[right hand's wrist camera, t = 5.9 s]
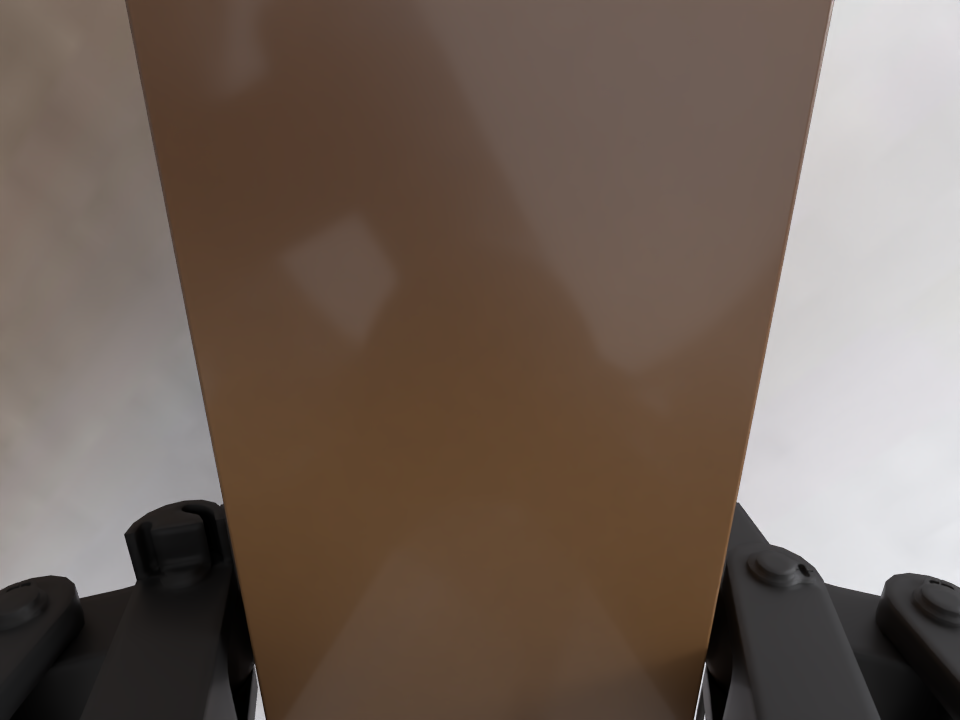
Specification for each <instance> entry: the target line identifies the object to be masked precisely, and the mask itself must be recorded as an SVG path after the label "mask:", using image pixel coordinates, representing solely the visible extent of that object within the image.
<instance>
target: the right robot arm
mask: <svg viewBox="0 0 960 720" xmlns="http://www.w3.org/2000/svg"><path fill="white" fill-rule="evenodd" d="M124 536H125V539H126V543H127V546H128V550H129V554H130V557H131V561H132V564H133V568H134V572H135V575H136V579H137V582H136V584H135V585H134V586H131V587H127V588H124V589H120V590H115V591H111V592H106V593H102V594H97V595H93V596H88V597H84V598H79V596H78V593H77V590H76V587H75V584H74V583H73V582H71V581H70V580H69V579H68V578H66V577H60V576H52V575H50V576H43V577H37V578H31V579H28V580H24V581H21V582H18V583H15V584H12V585H10V586H8V587H6V588H4V589H2V590H0V720H254V719H255V709H256V700H257V690H258V686H257V679H256V673H255V668H254V664H255V661H254V656H253V651H252V646H251V641H250V635H249V630H248V625H247V620H246V615H245V610H244V605H243V600H242V595H241V589H240V584H239V579H238V574H237V569H236V564H235V559H234V554H233V549H232V543H231V538H230V533H229V528H228V523H227V518H226V513H225V508H224V504H223V505H221V506H219V505H217V504H216V503H214V502H210V501H205V500H187V501H181V502H177V503H173V504H169V505H165V506H163V507H161V508H158V509H156V510H154V511H152V512H149V513H147V514H146V515H145V516H143V517H142V518H140V519H139V520H137V521H136V522H134V523H133V524H132V526H131V527H130V528H129V529H128V530H127V532H126V533H125V534H124ZM705 662H706V668H705V673H704V678H703V683H702V688H701V693H700V698H699V704H698V709H697V715H696V720H704V715H705V718H706V720H960V588H959V587H957V586H956V585H954V584H952V583H949V582H947V581H944V580H940V579H938V578H934V577H931V576H927V575H920V574H913V573H905V574H897V575H893V576H892V577H891V578H890V579H888V580H887V581H886V582H885V585H884V588H883V592H882V595H881V596H878V595H873V594H869V593H864V592H859V591H855V590H850V589H846V588H841V587H837V586H834V585H830V584H827V583H824V581H823V579H822V578H821V576H820V575H819V573H818V572H817V570H816V569H815V568H814V567H813V566H812V565H811V564H809V563H808V562H807V561H806V560H804V559H803V558H802V557H801V556H799V555H797V554H794V553H792V552H790V551H788V550H786V549H784V548H781V547H778V546H774V545H770V544H769V543H768V541H767V540H766V539H765V537H764V536H763V535H762V533H761V532H760V531H759V529H758V528H757V527H756V525H755V524H754V523H753V521H752V520H751V518H750V517H749V516H748V514H747V513H746V512H745V510H744V509H743V508H742V506H741V505H740V504H739V503H737V502H736V506H735V511H734V516H733V521H732V526H731V531H730V537H729V542H728V547H727V552H726V557H725V562H724V567H723V572H722V577H721V583H720V588H719V593H718V598H717V603H716V608H715V613H714V618H713V624H712V629H711V634H710V639H709V644H708V649H707V654H706V659H705Z"/></svg>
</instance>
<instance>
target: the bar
mask: <svg viewBox="0 0 960 720" xmlns="http://www.w3.org/2000/svg"><path fill="white" fill-rule="evenodd" d="M125 2H126V7H127V12H128V17H129V22H130V28H131V33H132V38H133V43H134V48H135V53H136V58H137V63H138V68H139V74H140V79H141V84H142V89H143V94H144V99H145V104H146V109H147V114H148V120H149V125H150V130H151V135H152V140H153V145H154V150H155V155H156V160H157V166H158V171H159V176H160V181H161V186H162V191H163V196H164V201H165V206H166V211H167V217H168V222H169V227H170V232H171V237H172V242H173V247H174V252H175V257H176V263H177V268H178V273H179V278H180V283H181V288H182V293H183V298H184V303H185V309H186V314H187V319H188V324H189V329H190V334H191V339H192V344H193V349H194V355H195V360H196V365H197V370H198V375H199V380H200V385H201V390H202V395H203V400H204V406H205V411H206V416H207V421H208V426H209V431H210V436H211V441H212V446H213V452H214V457H215V462H216V467H217V472H218V477H219V482H220V487H221V492H222V498H223V503H224V508H225V513H226V518H227V523H228V528H229V533H230V538H231V543H232V549H233V554H234V559H235V564H236V569H237V574H238V579H239V584H240V589H241V595H242V600H243V605H244V610H245V615H246V620H247V625H248V630H249V635H250V641H251V646H252V651H253V656H254V661H255V666H256V671H257V676H258V681H259V687H260V692H261V697H262V702H263V707H264V712H265V717H266V720H694V716H695V710H696V705H697V700H698V695H699V690H700V685H701V680H702V675H703V670H704V664H705V659H706V654H707V649H708V644H709V639H710V634H711V629H712V624H713V618H714V613H715V608H716V603H717V598H718V593H719V588H720V583H721V577H722V572H723V567H724V562H725V557H726V552H727V547H728V542H729V537H730V531H731V526H732V521H733V516H734V511H735V506H736V501H737V496H738V491H739V485H740V480H741V475H742V470H743V465H744V460H745V455H746V450H747V445H748V439H749V434H750V429H751V424H752V419H753V414H754V409H755V404H756V398H757V393H758V388H759V383H760V378H761V373H762V368H763V363H764V358H765V352H766V347H767V342H768V337H769V332H770V327H771V322H772V317H773V312H774V306H775V301H776V296H777V291H778V286H779V281H780V276H781V271H782V266H783V260H784V255H785V250H786V245H787V240H788V235H789V230H790V225H791V219H792V214H793V209H794V204H795V199H796V194H797V189H798V184H799V179H800V173H801V168H802V163H803V158H804V153H805V148H806V143H807V138H808V133H809V127H810V122H811V117H812V112H813V107H814V102H815V97H816V92H817V87H818V81H819V76H820V71H821V66H822V61H823V56H824V51H825V46H826V40H827V35H828V30H829V25H830V20H831V15H832V10H833V5H834V0H125Z"/></svg>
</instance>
